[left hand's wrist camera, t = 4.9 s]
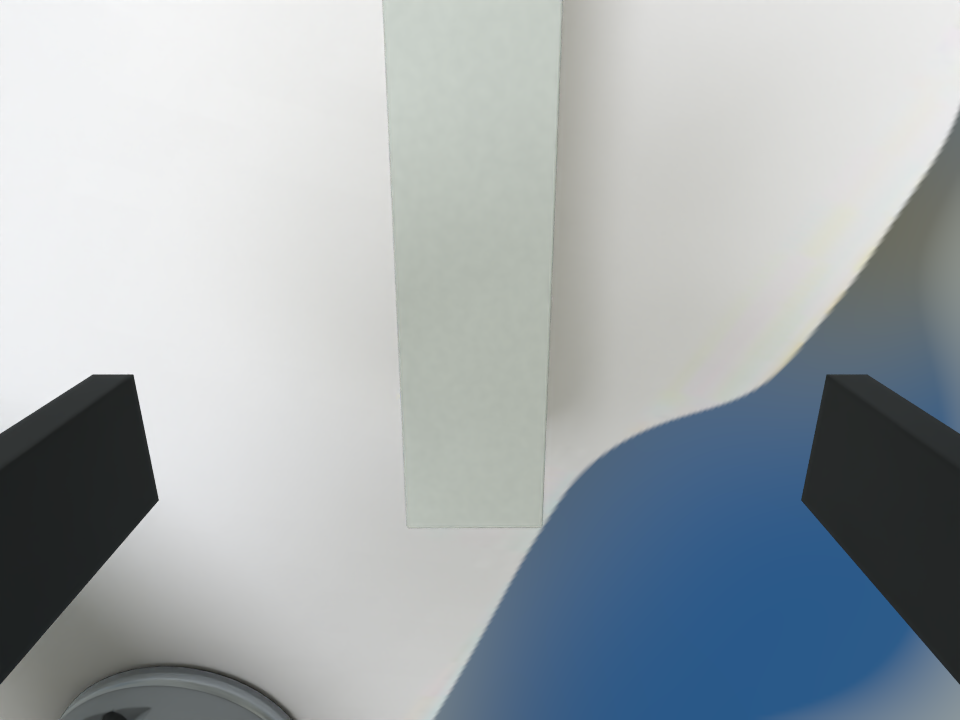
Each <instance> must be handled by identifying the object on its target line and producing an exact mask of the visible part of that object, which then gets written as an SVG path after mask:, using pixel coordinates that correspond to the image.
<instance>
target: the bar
mask: <svg viewBox="0 0 960 720" xmlns="http://www.w3.org/2000/svg"><path fill="white" fill-rule="evenodd" d="M382 3H383V24H384V46H385V68H386V90H387V111H388V133H389V155H390V176H391V198H392V220H393V241H394V263H395V285H396V307H397V328H398V350H399V372H400V393H401V415H402V437H403V458H404V480H405V502H406V524H407V527H408V528H540V527H542V521H543V496H544V470H545V445H546V419H547V394H548V368H549V343H550V317H551V292H552V266H553V240H554V215H555V189H556V164H557V138H558V113H559V87H560V62H561V36H562V11H563V0H382Z"/></svg>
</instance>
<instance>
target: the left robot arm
mask: <svg viewBox="0 0 960 720" xmlns="http://www.w3.org/2000/svg"><path fill="white" fill-rule="evenodd" d="M801 500H802V502H803V503H804V504H805V505H806V506H807V507H808V509H809V510H810V511H811V512H812V513H813V514H814V516H815V517H816V518H817V519H818V520H819V521H820V523H821V524H822V525H823V526H824V527H825V528H826V530H827V531H828V532H829V533H830V534H831V535H832V537H833V538H834V539H835V540H836V541H837V542H838V543H839V545H840V546H841V547H842V548H843V549H844V550H845V552H846V553H847V554H848V555H849V556H850V557H851V559H852V560H853V561H854V562H855V563H856V564H857V566H858V567H859V568H860V569H861V570H862V571H863V573H864V574H865V575H866V576H867V577H868V578H869V580H870V581H871V582H872V583H873V584H874V585H875V586H876V588H877V589H878V590H879V591H880V592H881V593H882V595H883V596H884V597H885V598H886V599H887V600H888V602H889V603H890V604H891V605H892V606H893V607H894V609H895V610H896V611H897V612H898V613H899V614H900V615H901V617H902V618H903V619H904V620H905V621H906V623H907V624H908V625H909V626H910V627H911V628H912V629H913V631H914V632H915V633H916V634H917V635H918V636H919V638H920V639H921V640H922V641H923V642H924V643H925V645H926V646H927V647H928V648H929V649H930V650H931V652H932V653H933V654H934V655H935V656H936V657H937V659H938V660H939V661H940V662H941V663H942V664H943V665H944V667H945V668H946V669H947V670H948V671H949V672H950V674H951V675H952V676H953V677H954V678H955V679H956V681H957V682H958V683H959V684H960V434H959V433H958V432H956V431H954V430H953V429H951V428H950V427H948V426H947V425H945V424H944V423H942V422H940V421H939V420H937V419H936V418H934V417H933V416H931V415H929V414H928V413H926V412H925V411H923V410H922V409H920V408H919V407H917V406H915V405H914V404H912V403H911V402H909V401H908V400H906V399H904V398H903V397H901V396H900V395H898V394H897V393H895V392H894V391H892V390H890V389H889V388H887V387H886V386H884V385H883V384H881V383H879V382H878V381H876V380H875V379H873V378H872V377H870V376H869V375H827V376H826V380H825V385H824V390H823V395H822V400H821V405H820V410H819V415H818V420H817V425H816V430H815V435H814V440H813V445H812V450H811V455H810V460H809V464H808V469H807V474H806V479H805V484H804V489H803V494H802V499H801ZM158 501H159V499H158V494H157V489H156V484H155V479H154V474H153V469H152V464H151V460H150V455H149V450H148V445H147V440H146V435H145V430H144V425H143V420H142V415H141V410H140V405H139V400H138V395H137V390H136V385H135V380H134V375H91V376H90V377H88V378H87V379H85V380H84V381H82V382H81V383H79V384H77V385H76V386H74V387H73V388H71V389H70V390H68V391H66V392H65V393H63V394H62V395H60V396H59V397H57V398H56V399H54V400H52V401H51V402H49V403H48V404H46V405H45V406H43V407H41V408H40V409H38V410H37V411H35V412H34V413H32V414H31V415H29V416H27V417H26V418H24V419H23V420H21V421H20V422H18V423H16V424H15V425H13V426H12V427H10V428H9V429H7V430H6V431H4V432H2V433H1V434H0V684H1V683H2V682H3V681H4V679H5V678H6V677H7V676H8V675H9V674H10V672H11V671H12V670H13V669H14V668H15V667H16V666H17V664H18V663H19V662H20V661H21V660H22V659H23V657H24V656H25V655H26V654H27V653H28V652H29V650H30V649H31V648H32V647H33V646H34V645H35V643H36V642H37V641H38V640H39V639H40V638H41V636H42V635H43V634H44V633H45V632H46V631H47V629H48V628H49V627H50V626H51V625H52V624H53V623H54V621H55V620H56V619H57V618H58V617H59V616H60V614H61V613H62V612H63V611H64V610H65V609H66V607H67V606H68V605H69V604H70V603H71V602H72V600H73V599H74V598H75V597H76V596H77V595H78V593H79V592H80V591H81V590H82V589H83V588H84V586H85V585H86V584H87V583H88V582H89V581H90V580H91V578H92V577H93V576H94V575H95V574H96V573H97V571H98V570H99V569H100V568H101V567H102V566H103V564H104V563H105V562H106V561H107V560H108V559H109V557H110V556H111V555H112V554H113V553H114V552H115V550H116V549H117V548H118V547H119V546H120V545H121V544H122V542H123V541H124V540H125V539H126V538H127V537H128V535H129V534H130V533H131V532H132V531H133V530H134V528H135V527H136V526H137V525H138V524H139V523H140V521H141V520H142V519H143V518H144V517H145V516H146V514H147V513H148V512H149V511H150V510H151V509H152V507H153V506H154V505H155V504H156V503H157V502H158ZM59 720H292V719H291V718H290V717H289V716H288V715H287V714H286V713H285V712H284V711H283V710H282V709H281V708H280V707H279V706H277V705H276V704H275V703H274V702H272V701H271V700H270V699H268V698H267V697H265V696H264V695H262V694H261V693H259V692H258V691H256V690H254V689H252V688H250V687H249V686H247V685H244V684H242V683H240V682H238V681H236V680H233V679H230V678H228V677H225V676H222V675H218V674H215V673H211V672H207V671H202V670H198V669H191V668H183V667H149V668H140V669H135V670H130V671H126V672H122V673H118V674H116V675H113V676H110V677H108V678H105V679H103V680H101V681H99V682H97V683H95V684H94V685H92V686H91V687H89V688H87V689H86V690H85V691H84V692H82V693H81V694H80V695H79V696H78V697H77V698H76V699H75V700H74V701H73V702H72V703H71V704H70V705H69V707H68V708H67V709H66V711H65V712H64V714H63V715H62V716H61V718H60V719H59Z"/></svg>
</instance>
